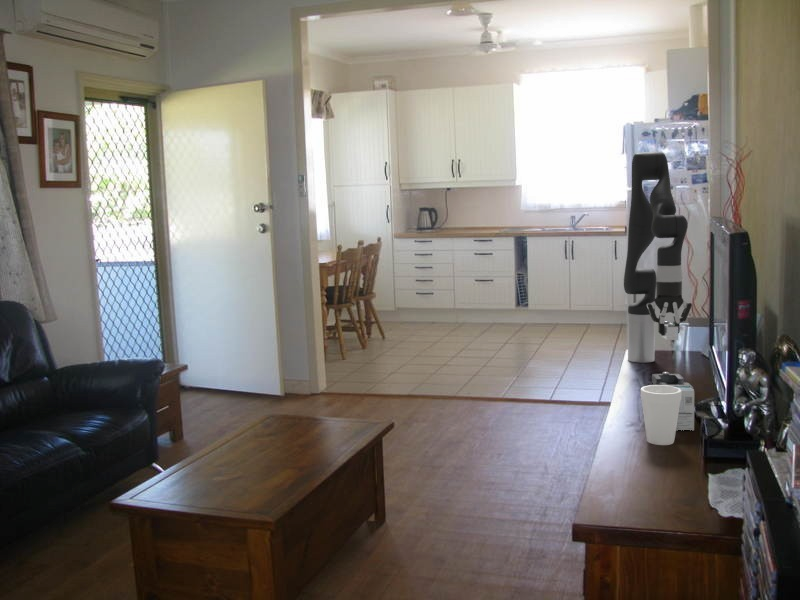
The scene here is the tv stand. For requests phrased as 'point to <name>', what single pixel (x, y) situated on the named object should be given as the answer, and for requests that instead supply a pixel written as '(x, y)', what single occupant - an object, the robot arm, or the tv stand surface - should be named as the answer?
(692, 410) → the light bulb box
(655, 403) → the foam cup
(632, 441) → the tv stand surface
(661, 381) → the end link
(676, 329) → the bolted link plate
